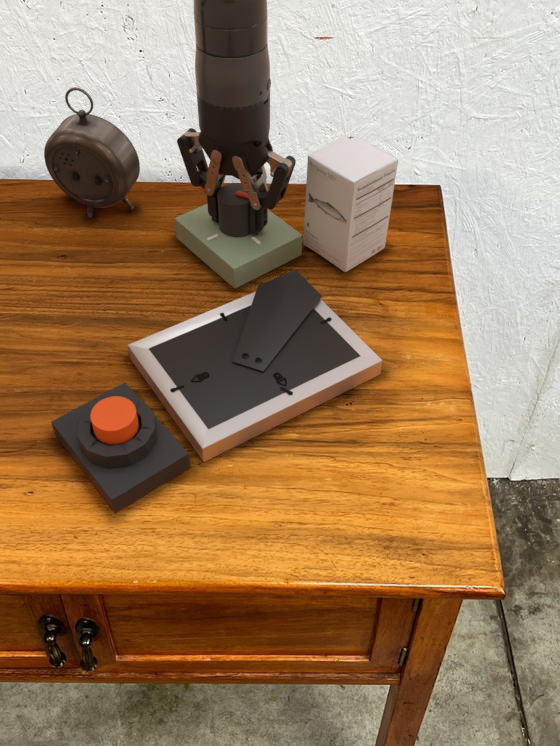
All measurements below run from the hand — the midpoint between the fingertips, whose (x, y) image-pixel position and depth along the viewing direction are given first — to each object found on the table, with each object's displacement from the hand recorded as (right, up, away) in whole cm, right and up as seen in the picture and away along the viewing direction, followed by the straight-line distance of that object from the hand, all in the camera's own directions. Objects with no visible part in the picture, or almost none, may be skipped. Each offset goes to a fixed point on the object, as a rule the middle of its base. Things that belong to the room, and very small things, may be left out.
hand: (238, 223), depth 91 cm
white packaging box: (+13, -2, +3) cm, 13 cm away
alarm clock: (-18, +3, +7) cm, 20 cm away
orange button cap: (-10, -22, -21) cm, 33 cm away
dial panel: (0, -2, +2) cm, 3 cm away
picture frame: (+2, -17, -11) cm, 20 cm away
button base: (-10, -25, -19) cm, 33 cm away
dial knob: (0, 0, 0) cm, 0 cm away
